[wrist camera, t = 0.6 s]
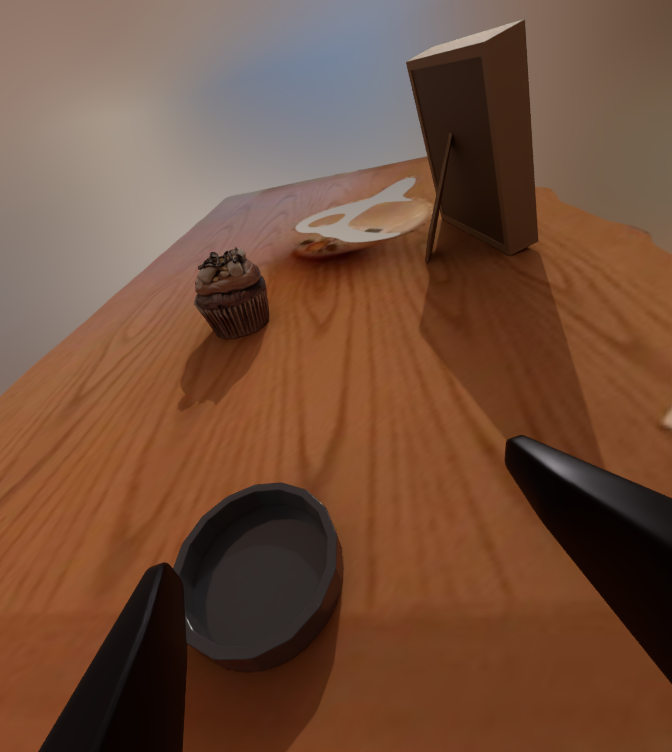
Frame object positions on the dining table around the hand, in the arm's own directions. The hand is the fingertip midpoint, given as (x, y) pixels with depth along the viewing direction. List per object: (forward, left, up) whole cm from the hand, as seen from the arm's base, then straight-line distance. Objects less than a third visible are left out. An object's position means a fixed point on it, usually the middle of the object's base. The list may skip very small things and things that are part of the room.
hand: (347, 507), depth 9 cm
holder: (+8, +5, -15) cm, 18 cm away
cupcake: (+43, +1, -15) cm, 45 cm away
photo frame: (+47, -36, -15) cm, 61 cm away
